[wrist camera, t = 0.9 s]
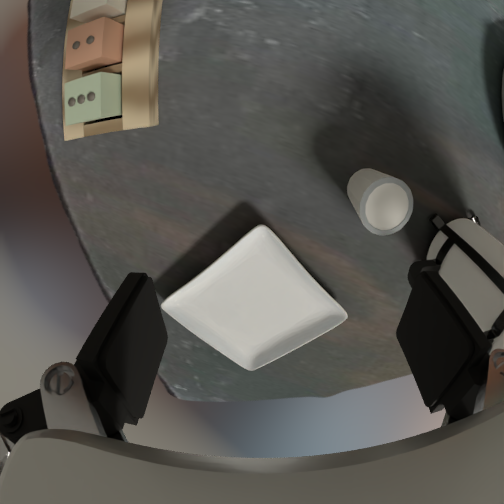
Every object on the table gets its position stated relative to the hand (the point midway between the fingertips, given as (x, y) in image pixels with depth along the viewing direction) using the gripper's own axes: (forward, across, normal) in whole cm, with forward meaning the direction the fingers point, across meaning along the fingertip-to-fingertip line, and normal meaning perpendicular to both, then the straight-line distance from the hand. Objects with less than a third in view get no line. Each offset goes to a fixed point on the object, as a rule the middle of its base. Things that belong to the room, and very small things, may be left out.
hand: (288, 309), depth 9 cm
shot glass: (+26, -13, +3) cm, 29 cm away
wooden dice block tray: (+26, +19, -17) cm, 37 cm away
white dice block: (+24, +19, -24) cm, 39 cm away
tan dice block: (+24, +19, -17) cm, 35 cm away
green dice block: (+24, +20, -10) cm, 33 cm away
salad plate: (+27, +2, +21) cm, 34 cm away
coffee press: (+26, -29, +11) cm, 40 cm away
